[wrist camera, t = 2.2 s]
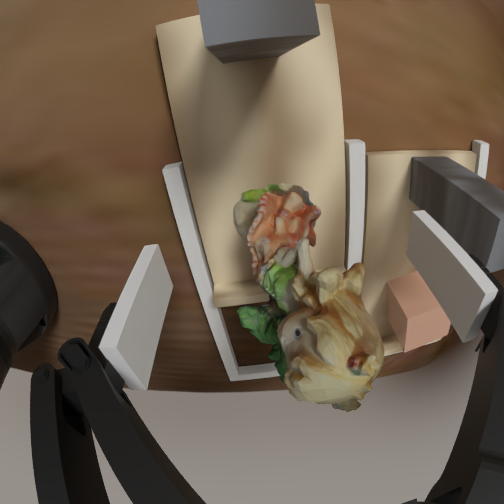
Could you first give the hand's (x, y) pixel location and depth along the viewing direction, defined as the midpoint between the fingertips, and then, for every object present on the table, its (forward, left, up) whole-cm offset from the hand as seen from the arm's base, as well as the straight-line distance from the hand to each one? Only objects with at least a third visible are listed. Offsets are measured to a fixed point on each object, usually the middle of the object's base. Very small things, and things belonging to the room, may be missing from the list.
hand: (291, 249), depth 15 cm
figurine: (0, -3, -8) cm, 9 cm away
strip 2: (+12, -9, -8) cm, 17 cm away
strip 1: (0, +2, -8) cm, 9 cm away
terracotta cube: (+12, -12, -7) cm, 19 cm away
